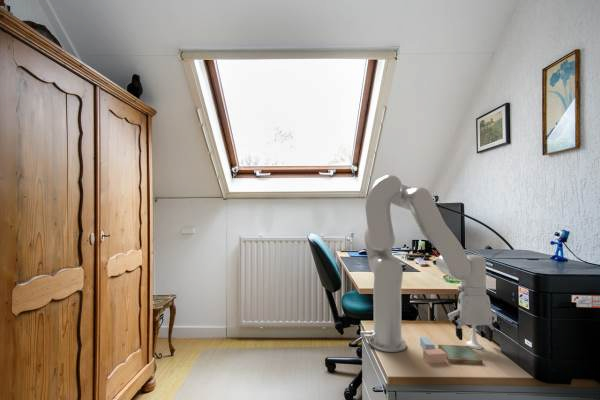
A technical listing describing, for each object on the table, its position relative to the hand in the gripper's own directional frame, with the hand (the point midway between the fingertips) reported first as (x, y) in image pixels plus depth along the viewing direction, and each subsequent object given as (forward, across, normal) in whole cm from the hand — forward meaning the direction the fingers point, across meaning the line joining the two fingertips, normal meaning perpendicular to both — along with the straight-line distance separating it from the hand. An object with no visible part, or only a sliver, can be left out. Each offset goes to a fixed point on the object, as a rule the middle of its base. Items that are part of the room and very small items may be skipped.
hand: (474, 339), depth 109 cm
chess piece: (+3, 0, 0) cm, 3 cm away
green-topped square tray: (+2, -8, -8) cm, 12 cm away
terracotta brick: (+2, -17, -12) cm, 21 cm away
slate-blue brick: (+2, -17, -4) cm, 18 cm away
